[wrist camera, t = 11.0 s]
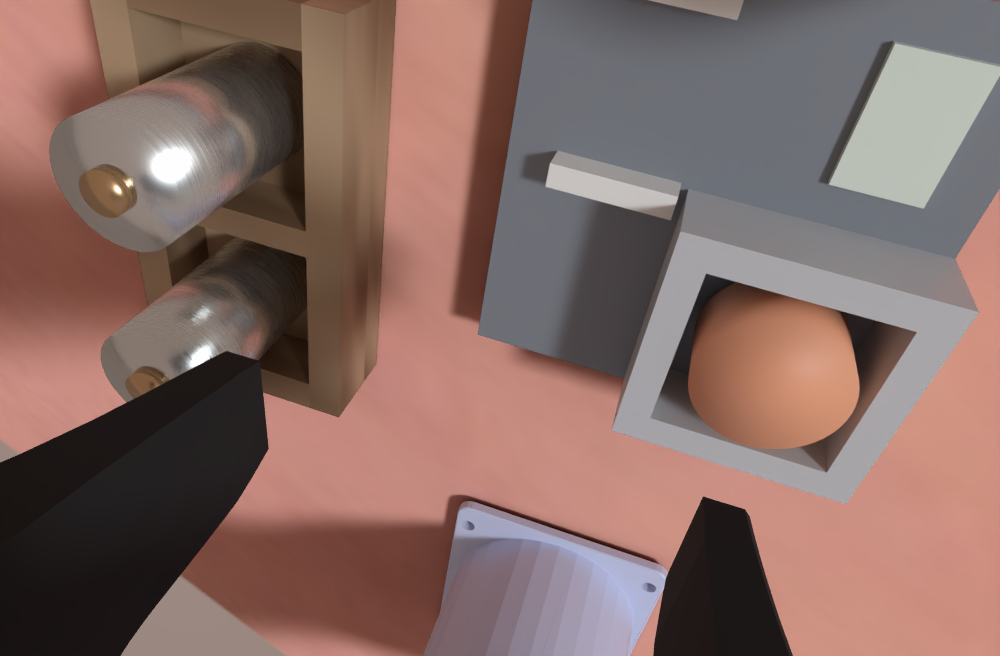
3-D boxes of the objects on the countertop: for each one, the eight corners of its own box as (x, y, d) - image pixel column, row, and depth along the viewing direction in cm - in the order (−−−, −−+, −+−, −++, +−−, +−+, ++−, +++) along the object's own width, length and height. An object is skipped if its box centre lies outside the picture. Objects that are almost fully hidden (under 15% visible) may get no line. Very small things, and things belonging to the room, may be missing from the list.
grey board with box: (834, 415, 20) (845, 504, 18) (489, 312, 22) (452, 380, 19) (1079, 10, 14) (1157, 56, 11) (560, -100, 15) (519, -82, 13)
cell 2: (316, 324, 23) (204, 452, 18) (232, 298, 23) (102, 417, 19) (315, 244, 21) (189, 363, 16) (223, 218, 21) (76, 327, 17)
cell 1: (315, 167, 20) (177, 277, 15) (216, 140, 20) (55, 239, 15) (312, 57, 18) (155, 143, 13) (204, 30, 18) (15, 104, 14)
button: (813, 413, 18) (817, 467, 17) (675, 372, 19) (668, 421, 17) (878, 300, 16) (890, 351, 15) (721, 258, 17) (717, 303, 15)
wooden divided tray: (376, 363, 25) (339, 417, 22) (209, 311, 25) (157, 357, 23) (396, -10, 17) (344, 14, 15) (161, -66, 18) (80, -51, 16)
